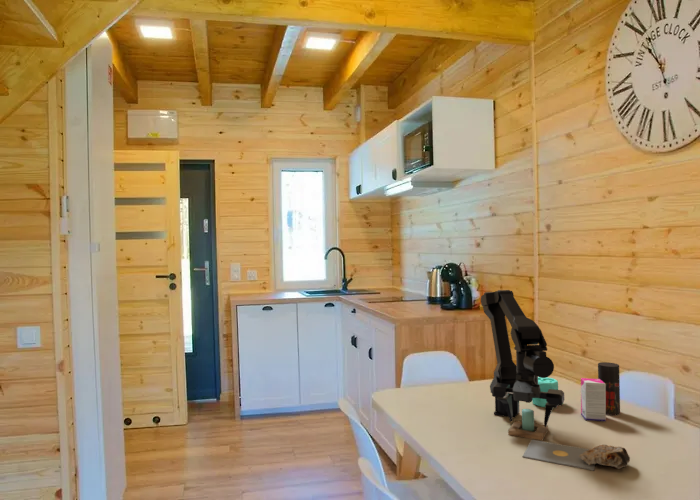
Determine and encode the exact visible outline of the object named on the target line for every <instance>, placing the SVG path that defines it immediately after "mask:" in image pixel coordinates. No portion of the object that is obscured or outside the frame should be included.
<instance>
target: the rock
mask: <svg viewBox="0 0 700 500" xmlns="http://www.w3.org/2000/svg"><path fill="white" fill-rule="evenodd" d="M579 457H580V458H581V459H582V460H584V461H585V462H586V463H587V464H588V465H594V464H595V465H596V464H598V465H601V466H602V465H603V466H608V467H613V468H614V469H618V470H620V469H623V467H624V468H626V467H628V464H629V463H630V461H631V457H630V455H629V453H628V451H627V449H626V448H625V447H622V446H615V445H614V446H613V445H607V444H599V445H597V446H594V447H592V448H590V450H588V451H585V452H584V453H583V454H580V455H579Z"/></svg>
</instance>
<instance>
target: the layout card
mask: <svg viewBox="0 0 700 500" xmlns="http://www.w3.org/2000/svg"><path fill="white" fill-rule="evenodd" d="M590 449H591V448H590ZM590 449H589V448H583V447H578V446H572V445H565V444H560V443H555V442H548V441H544V440H537V439H531V440H530V442H529V443H528V446H527V447H526V449H525V451H524V453H523V454H522V458H523V459H530V460H536V461H541V462H546V463H551V464H556V465H562V466H567V467H568V466H569V467H572V468H578V469H584V470H588V471H595V467H596V464H594V465H588V464H587V463H586V462H585V461H584V460H582V459H581V458H580V457H579V455H580V454H583V453H584V452H585V451H588V450H590Z"/></svg>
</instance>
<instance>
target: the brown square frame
mask: <svg viewBox="0 0 700 500" xmlns="http://www.w3.org/2000/svg"><path fill="white" fill-rule="evenodd" d="M548 427H549V425H548V424H547V426H546V427H544V424H541V423H535V422H534V432H532V431H526V430H522V420H521V421H520V420H514V422H512V425H511V426H510V428H508V431H507V433H508V434H507V435H508V436H512V437H513V436H514V437H519V438H525V439H531V440H537V441H544V438H545V436H546V434H547V432H548V431H549V430H548Z"/></svg>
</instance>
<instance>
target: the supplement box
mask: <svg viewBox="0 0 700 500" xmlns="http://www.w3.org/2000/svg"><path fill="white" fill-rule="evenodd" d="M580 415H581V416H582V417H583V419H584V420H585V421H589V422H592V421H593V422H606V421H607V420H606V419H607V417H606V384H605V383H604V382H603V381H602V380H600V379H598V378H586V377H581V378H580Z"/></svg>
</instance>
